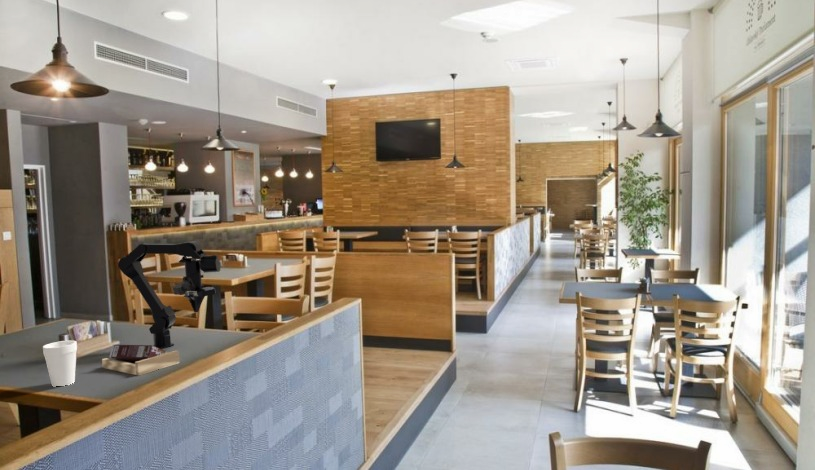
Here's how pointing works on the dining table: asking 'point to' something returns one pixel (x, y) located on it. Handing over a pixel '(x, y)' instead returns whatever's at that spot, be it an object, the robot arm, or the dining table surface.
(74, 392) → the dining table surface
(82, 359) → the dining table surface
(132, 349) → the supplement box
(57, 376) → the foam cup
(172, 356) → the frame
